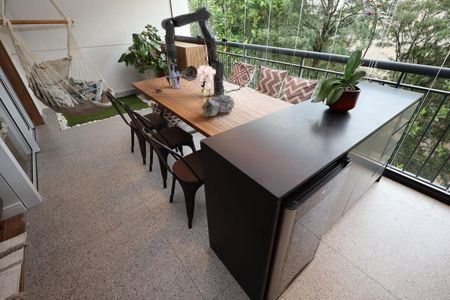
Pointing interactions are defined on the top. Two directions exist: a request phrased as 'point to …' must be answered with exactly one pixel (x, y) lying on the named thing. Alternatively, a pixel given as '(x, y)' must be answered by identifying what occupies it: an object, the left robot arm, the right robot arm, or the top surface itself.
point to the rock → (218, 105)
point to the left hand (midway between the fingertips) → (174, 85)
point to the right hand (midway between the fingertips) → (174, 71)
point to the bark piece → (189, 73)
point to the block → (158, 90)
